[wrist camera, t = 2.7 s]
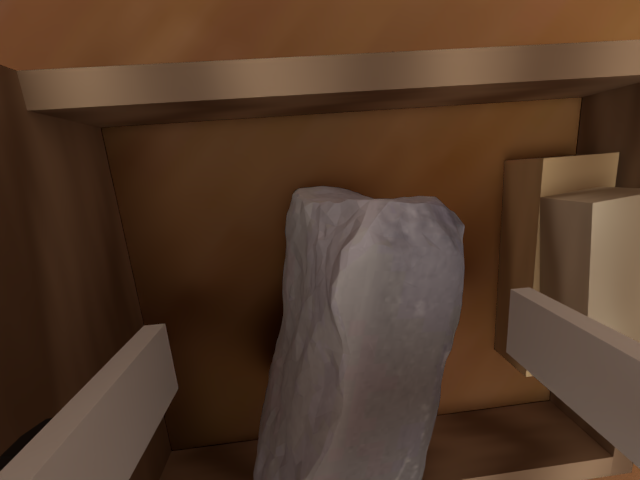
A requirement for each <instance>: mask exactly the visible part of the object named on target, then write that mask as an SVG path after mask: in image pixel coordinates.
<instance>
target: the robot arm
mask: <svg viewBox="0 0 640 480" xmlns="http://www.w3.org/2000/svg"><path fill="white" fill-rule="evenodd" d="M506 352H507V353H508V354H509V355H510V356H511V357H512V358H514V359H515V360H516V361H517V362H518V363H519V364H520V365H522V366H523V367H524V368H525V369H526V370H527V371H528V372H530V373H531V374H532V375H533V376H534V377H535V378H536V379H538V380H539V381H540V382H541V383H542V384H543V385H544V386H546V387H547V388H548V389H549V390H550V391H551V392H553V393H554V394H555V395H556V396H557V397H558V398H559V399H561V400H562V401H563V402H564V403H565V404H566V405H567V406H569V407H570V408H571V409H572V410H573V411H574V412H575V413H577V414H578V415H579V416H580V417H581V418H582V419H583V420H585V421H586V422H587V423H588V424H589V425H590V426H592V427H593V428H594V429H595V430H596V431H597V432H598V433H600V434H601V435H602V436H603V437H604V438H605V439H606V440H608V441H609V442H610V443H611V444H612V445H613V446H614V447H616V448H617V449H618V450H619V451H620V452H621V453H622V454H624V455H625V456H626V457H627V458H628V459H629V460H631V461H632V462H633V463H634V464H635V465H636V466H637V467H639V468H640V343H639V342H637V341H635V340H633V339H631V338H629V337H627V336H625V335H623V334H621V333H619V332H617V331H615V330H613V329H611V328H609V327H607V326H605V325H603V324H601V323H599V322H597V321H595V320H593V319H591V318H589V317H587V316H585V315H583V314H581V313H580V312H578V311H576V310H574V309H572V308H570V307H568V306H566V305H564V304H562V303H560V302H558V301H556V300H554V299H552V298H550V297H548V296H546V295H544V294H542V293H540V292H538V291H536V290H534V289H532V288H530V287H527V288H517V289H511V292H510V306H509V320H508V334H507V347H506ZM177 390H178V384H177V379H176V374H175V369H174V364H173V359H172V354H171V349H170V345H169V340H168V335H167V330H166V325H165V324H155V325H145V326H143V327H142V328H141V329H140V330H139V331H138V332H137V333H136V334H135V335H134V336H133V337H132V338H131V339H130V340H129V341H128V342H127V343H126V344H125V345H124V346H123V347H122V348H121V349H120V350H119V351H118V352H117V353H116V354H115V355H114V356H113V357H112V358H111V359H110V360H109V361H108V362H107V363H106V365H105V366H104V367H103V368H102V369H101V370H100V371H99V372H98V373H97V374H96V375H95V376H94V377H93V378H92V379H91V380H90V381H89V382H88V383H87V384H86V385H85V386H84V387H83V388H82V389H81V390H80V391H79V392H78V393H77V394H76V395H75V396H74V397H73V398H72V399H71V400H70V401H69V402H68V403H67V404H66V405H65V406H64V407H63V408H62V409H61V410H60V411H59V412H58V413H57V414H56V415H55V416H54V417H53V418H47V419H45V420H44V421H42V422H41V423H39V424H38V425H36V426H35V427H33V428H32V429H31V430H29V431H28V432H26V433H25V434H23V435H22V436H21V437H19V438H18V439H17V440H16V441H15V442H14V443H13V444H12V445H11V446H10V447H9V448H8V449H7V450H6V451H5V452H4V453H3V454H2V455H1V456H0V480H129V479H130V477H131V475H132V473H133V471H134V470H135V468H136V466H137V464H138V462H139V460H140V458H141V457H142V455H143V453H144V451H145V449H146V447H147V446H148V444H149V442H150V440H151V438H152V436H153V435H154V433H155V431H156V429H157V427H158V425H159V423H160V422H161V420H162V418H163V416H164V414H165V412H166V411H167V409H168V407H169V405H170V403H171V401H172V399H173V398H174V396H175V394H176V392H177Z"/></svg>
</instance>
